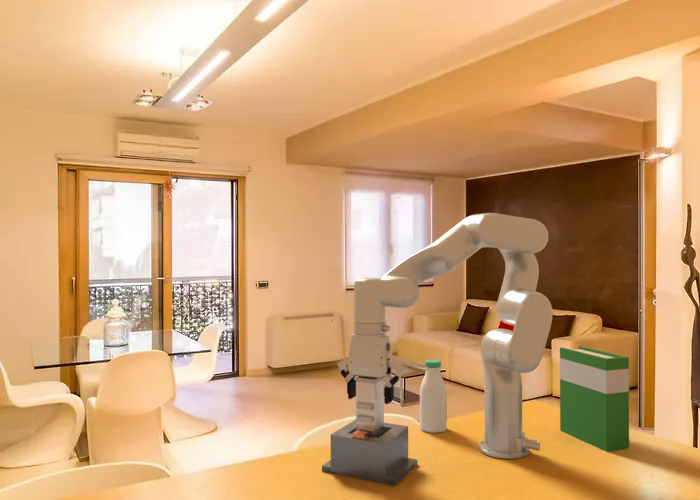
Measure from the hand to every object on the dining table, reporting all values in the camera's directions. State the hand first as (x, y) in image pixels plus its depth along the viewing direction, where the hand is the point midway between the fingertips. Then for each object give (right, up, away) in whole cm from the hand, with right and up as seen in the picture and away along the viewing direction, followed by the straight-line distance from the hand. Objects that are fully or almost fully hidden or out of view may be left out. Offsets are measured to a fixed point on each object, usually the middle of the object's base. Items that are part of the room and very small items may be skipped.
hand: (370, 400), depth 133 cm
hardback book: (+62, -16, +19) cm, 67 cm away
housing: (0, -16, 0) cm, 16 cm away
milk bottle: (+19, -16, +28) cm, 38 cm away
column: (0, -16, 0) cm, 16 cm away
